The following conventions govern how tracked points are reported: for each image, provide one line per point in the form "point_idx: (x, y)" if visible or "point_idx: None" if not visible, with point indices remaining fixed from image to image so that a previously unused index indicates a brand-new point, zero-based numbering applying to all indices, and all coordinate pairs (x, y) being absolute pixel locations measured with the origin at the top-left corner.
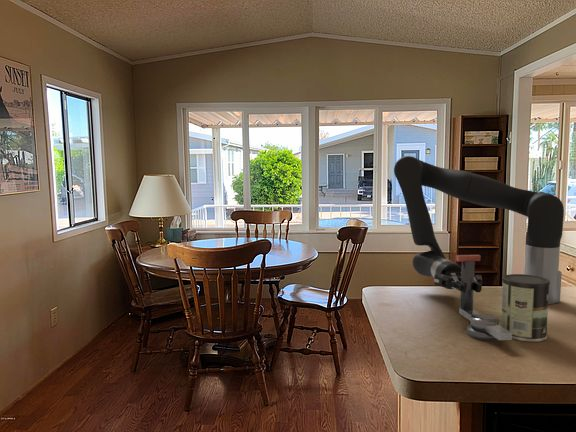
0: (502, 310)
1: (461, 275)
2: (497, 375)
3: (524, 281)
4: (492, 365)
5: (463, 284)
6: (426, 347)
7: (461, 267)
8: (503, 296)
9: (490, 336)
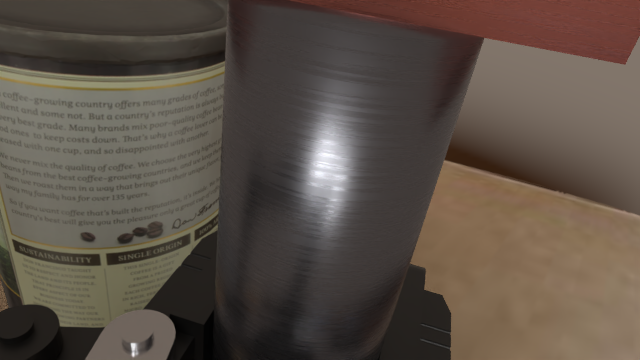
0: (208, 231)
1: (403, 282)
2: (453, 177)
3: (167, 1)
4: (439, 199)
5: (417, 267)
6: (622, 333)
7: (434, 181)
8: (216, 151)
9: None
